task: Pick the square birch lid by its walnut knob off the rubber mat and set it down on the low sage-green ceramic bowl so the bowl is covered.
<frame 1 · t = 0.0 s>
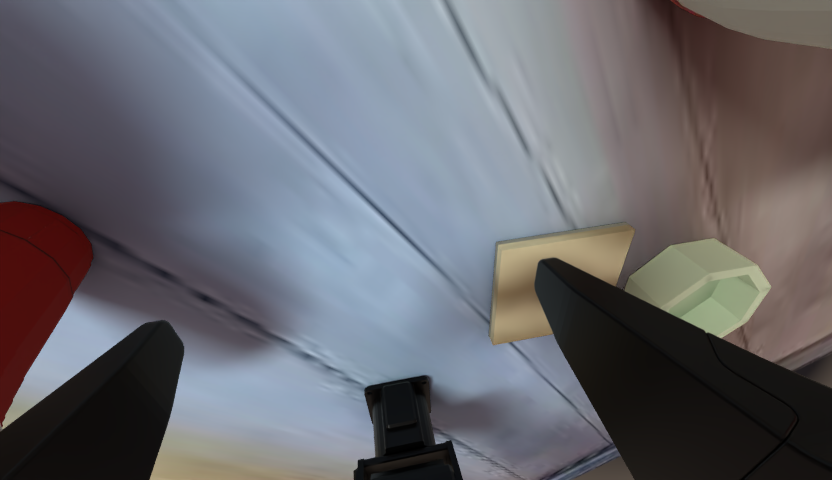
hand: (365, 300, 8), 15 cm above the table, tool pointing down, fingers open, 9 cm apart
plastic cup: (39, 237, 21), on the table
mat: (551, 283, 31), on the table
lid: (553, 286, 30), resting on mat
bowl: (671, 285, 34), on the table
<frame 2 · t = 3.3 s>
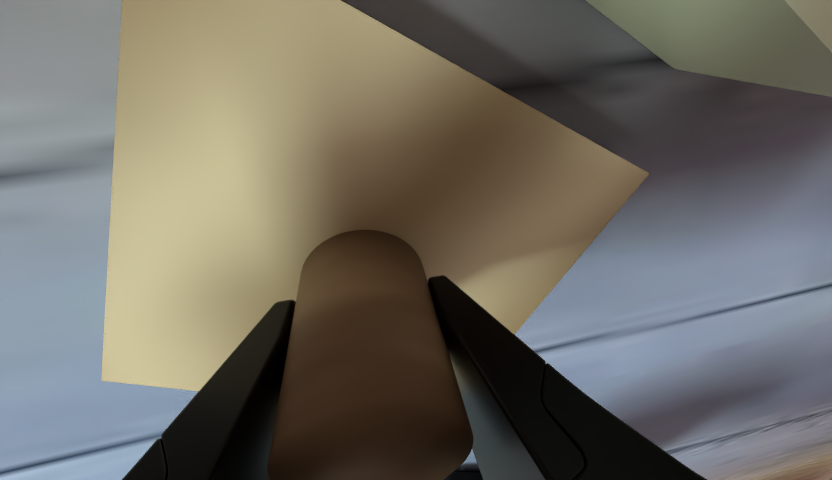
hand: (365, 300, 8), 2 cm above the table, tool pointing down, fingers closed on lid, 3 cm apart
lid: (362, 263, 10), resting on mat, touching gripper
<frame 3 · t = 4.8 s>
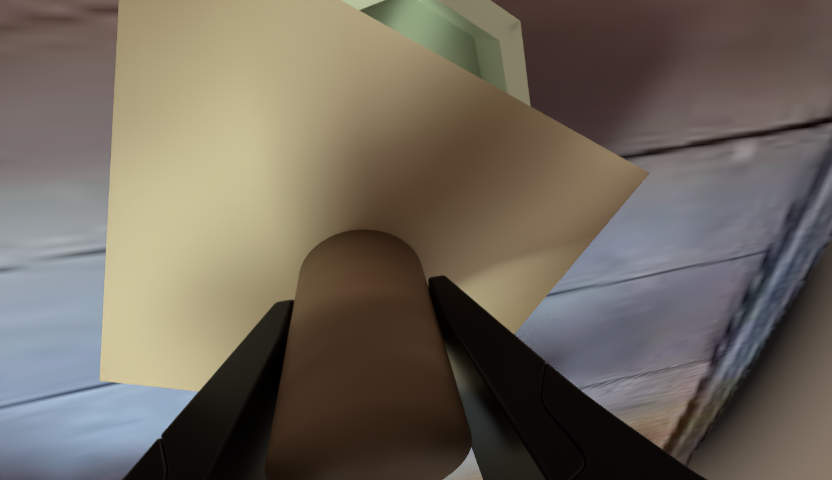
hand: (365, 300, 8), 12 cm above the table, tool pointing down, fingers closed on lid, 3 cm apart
lid: (361, 262, 10), point 11 cm above the table, touching gripper
bowl: (397, 105, 18), on the table
when the fingers open (7 cm above the table, at t = 6.5 s): lid drops 1 cm, resting on bowl.
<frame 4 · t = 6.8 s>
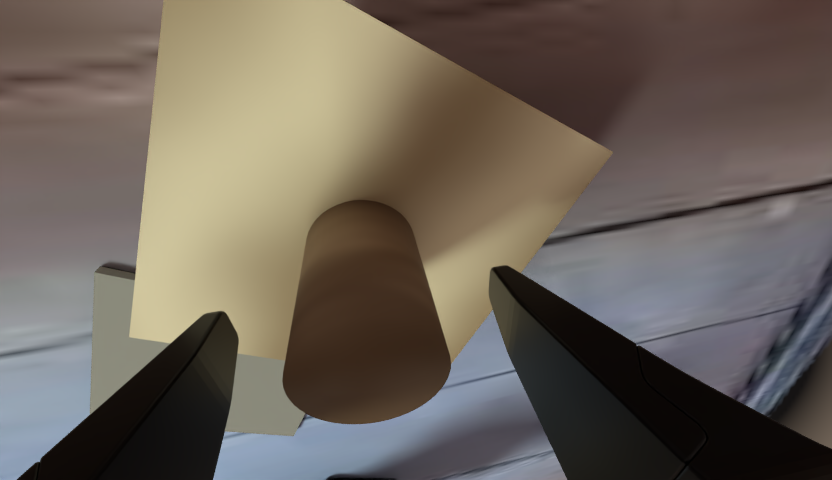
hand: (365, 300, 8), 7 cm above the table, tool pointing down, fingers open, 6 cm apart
mat: (220, 367, 19), on the table
lid: (361, 233, 11), point 4 cm above the table, touching bowl
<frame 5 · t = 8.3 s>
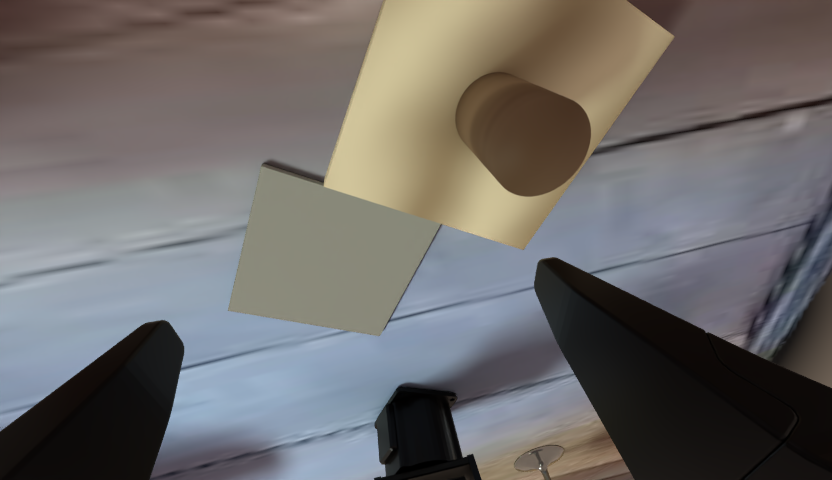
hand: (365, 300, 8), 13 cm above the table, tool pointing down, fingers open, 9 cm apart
mat: (332, 264, 23), on the table
wine glass: (538, 457, 47), on the table
lid: (486, 109, 15), point 4 cm above the table, touching bowl
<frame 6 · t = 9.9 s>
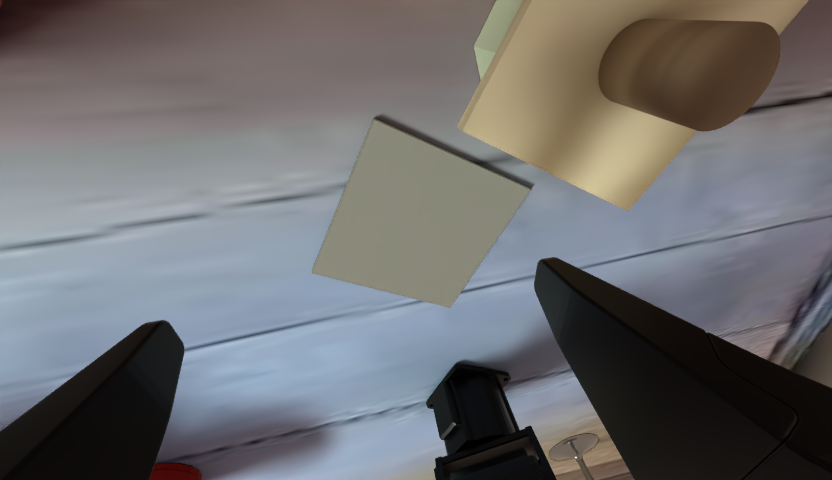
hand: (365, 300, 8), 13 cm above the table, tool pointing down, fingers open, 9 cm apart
plastic cup: (168, 473, 35), on the table
mat: (418, 228, 23), on the table
wine glass: (572, 446, 47), on the table
lid: (622, 61, 15), point 4 cm above the table, touching bowl
bowl: (573, 52, 19), on the table
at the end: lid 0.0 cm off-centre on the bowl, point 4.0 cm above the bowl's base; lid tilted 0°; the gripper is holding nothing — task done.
